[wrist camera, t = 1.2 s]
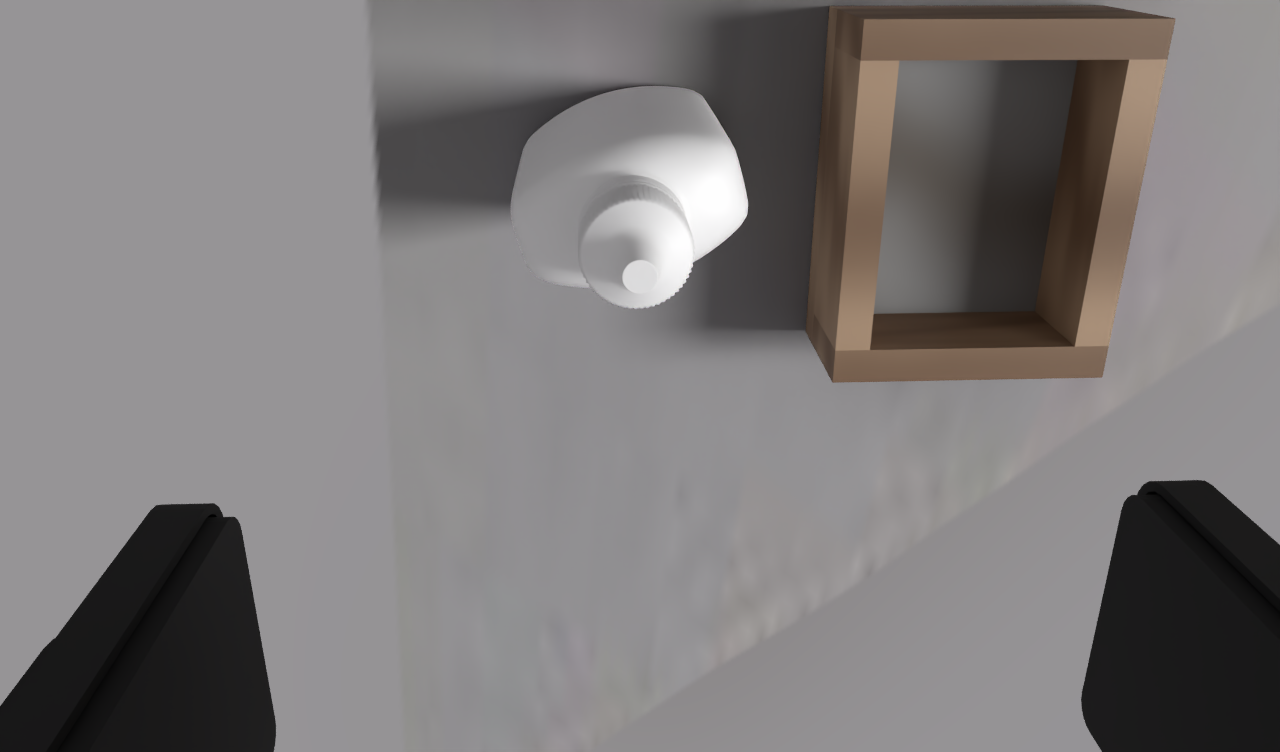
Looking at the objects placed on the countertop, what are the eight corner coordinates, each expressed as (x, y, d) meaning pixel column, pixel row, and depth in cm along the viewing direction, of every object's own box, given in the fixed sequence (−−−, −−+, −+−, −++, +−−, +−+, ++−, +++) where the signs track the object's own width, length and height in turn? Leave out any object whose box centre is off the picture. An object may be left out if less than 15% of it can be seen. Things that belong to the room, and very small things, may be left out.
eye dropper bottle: (692, 236, 32) (748, 403, 21) (514, 197, 31) (476, 351, 20) (729, 96, 30) (811, 199, 19) (541, 51, 30) (516, 133, 19)
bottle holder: (829, 6, 29) (864, 19, 26) (1103, 5, 30) (1175, 18, 26) (805, 331, 34) (832, 382, 30) (1046, 327, 34) (1102, 377, 30)
